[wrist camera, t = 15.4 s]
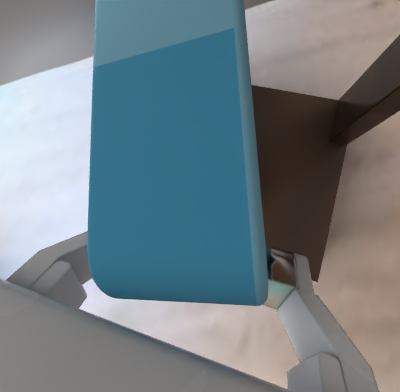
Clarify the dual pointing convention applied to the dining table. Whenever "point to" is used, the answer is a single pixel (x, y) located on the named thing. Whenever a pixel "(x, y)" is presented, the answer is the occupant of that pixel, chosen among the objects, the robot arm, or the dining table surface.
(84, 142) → the dining table surface
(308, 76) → the dining table surface
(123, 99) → the data package
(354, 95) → the shelf
